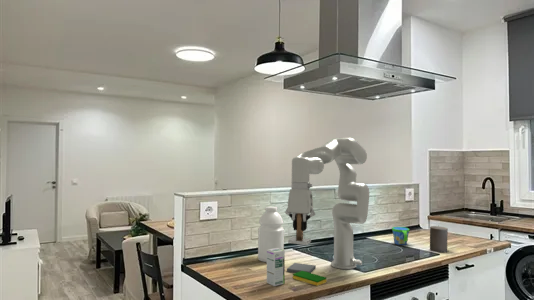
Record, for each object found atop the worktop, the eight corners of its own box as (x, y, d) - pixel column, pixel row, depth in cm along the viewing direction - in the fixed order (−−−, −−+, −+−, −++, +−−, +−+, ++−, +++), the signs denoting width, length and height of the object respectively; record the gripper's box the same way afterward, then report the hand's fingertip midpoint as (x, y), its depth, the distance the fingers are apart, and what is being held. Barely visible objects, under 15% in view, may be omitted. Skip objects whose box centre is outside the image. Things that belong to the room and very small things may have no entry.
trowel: (310, 242, 153) (311, 210, 154) (306, 244, 148) (306, 212, 148) (293, 240, 156) (293, 209, 157) (288, 242, 151) (288, 211, 151)
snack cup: (413, 247, 224) (413, 230, 225) (396, 246, 225) (396, 230, 225) (404, 241, 240) (404, 226, 240) (388, 241, 240) (388, 225, 241)
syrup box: (274, 286, 153) (274, 252, 153) (266, 282, 157) (266, 249, 158) (284, 284, 156) (285, 250, 156) (276, 280, 161) (276, 247, 161)
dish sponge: (302, 275, 169) (302, 270, 169) (326, 282, 159) (327, 277, 159) (292, 279, 164) (292, 273, 164) (317, 287, 154) (317, 281, 154)
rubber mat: (315, 268, 178) (315, 265, 178) (308, 274, 168) (308, 271, 168) (294, 265, 183) (294, 262, 183) (286, 271, 173) (286, 268, 173)
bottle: (288, 258, 196) (289, 206, 197) (274, 264, 185) (275, 209, 185) (267, 254, 204) (267, 204, 205) (252, 260, 193) (253, 207, 193)
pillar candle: (426, 250, 218) (427, 225, 218) (434, 247, 224) (434, 223, 224) (443, 253, 210) (443, 227, 210) (450, 250, 217) (450, 225, 217)
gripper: (321, 186, 153) (321, 230, 152) (285, 185, 160) (284, 227, 159) (316, 187, 146) (316, 233, 145) (279, 186, 153) (278, 229, 152)
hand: (299, 229), depth 152 cm, fingers closed on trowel, 3 cm apart
